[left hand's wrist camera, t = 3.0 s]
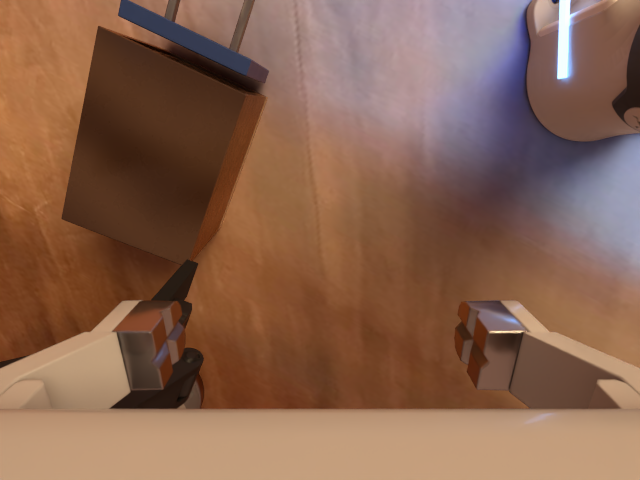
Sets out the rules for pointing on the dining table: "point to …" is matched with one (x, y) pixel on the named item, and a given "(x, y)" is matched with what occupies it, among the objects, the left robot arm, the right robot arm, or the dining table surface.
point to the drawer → (198, 38)
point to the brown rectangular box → (157, 148)
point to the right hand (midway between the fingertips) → (84, 238)
